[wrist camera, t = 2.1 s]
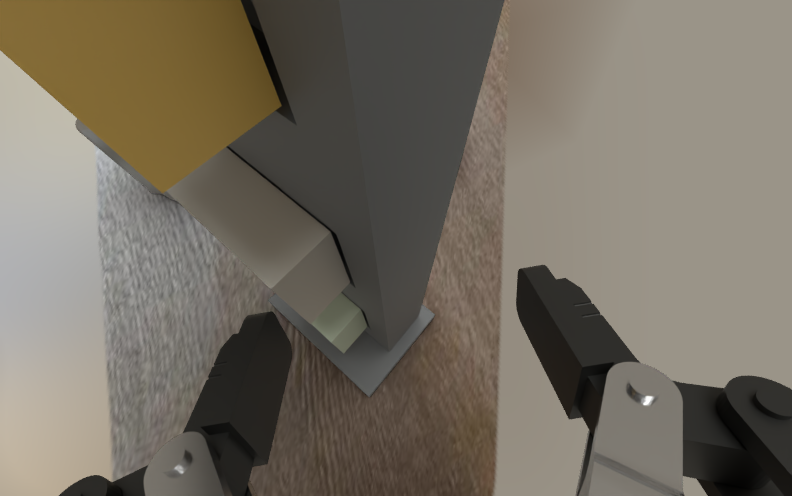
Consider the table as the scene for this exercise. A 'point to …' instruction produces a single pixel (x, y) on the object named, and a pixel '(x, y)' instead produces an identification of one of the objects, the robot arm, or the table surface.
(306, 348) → the table surface
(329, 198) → the keypad panel
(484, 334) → the table surface
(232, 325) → the table surface
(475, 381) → the table surface
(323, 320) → the block
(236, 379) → the robot arm
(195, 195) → the key middle
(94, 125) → the key top
